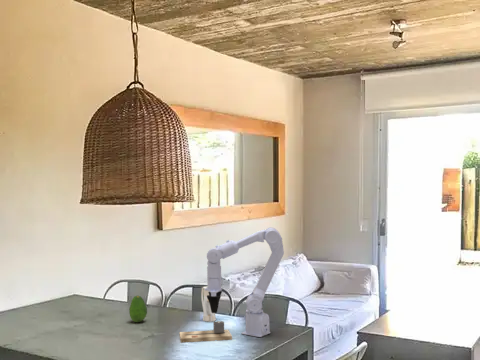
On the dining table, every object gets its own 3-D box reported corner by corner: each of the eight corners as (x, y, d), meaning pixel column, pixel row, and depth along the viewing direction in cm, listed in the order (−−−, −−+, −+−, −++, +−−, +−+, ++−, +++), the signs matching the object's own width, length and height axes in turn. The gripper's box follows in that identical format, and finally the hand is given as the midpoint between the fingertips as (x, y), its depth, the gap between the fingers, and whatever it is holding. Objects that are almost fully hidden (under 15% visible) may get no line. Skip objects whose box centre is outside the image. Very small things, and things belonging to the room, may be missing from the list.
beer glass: (198, 321, 247) (198, 287, 247) (206, 317, 253) (206, 285, 253) (212, 322, 243) (211, 289, 244) (219, 319, 250) (219, 286, 250)
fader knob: (223, 331, 221) (223, 321, 221) (224, 332, 219) (224, 322, 219) (213, 331, 221) (213, 321, 221) (214, 333, 218) (214, 323, 218)
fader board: (228, 333, 225) (228, 329, 225) (231, 339, 215) (231, 335, 215) (179, 335, 222) (179, 331, 222) (180, 342, 212) (180, 338, 212)
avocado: (126, 323, 243) (126, 296, 244) (133, 319, 251) (133, 293, 251) (143, 324, 242) (142, 297, 242) (150, 320, 249) (149, 294, 249)
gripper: (205, 275, 232) (206, 307, 232) (203, 280, 217) (203, 314, 217) (222, 274, 232) (222, 306, 232) (221, 280, 217) (221, 314, 217)
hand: (214, 310), depth 224 cm, fingers open, 7 cm apart
